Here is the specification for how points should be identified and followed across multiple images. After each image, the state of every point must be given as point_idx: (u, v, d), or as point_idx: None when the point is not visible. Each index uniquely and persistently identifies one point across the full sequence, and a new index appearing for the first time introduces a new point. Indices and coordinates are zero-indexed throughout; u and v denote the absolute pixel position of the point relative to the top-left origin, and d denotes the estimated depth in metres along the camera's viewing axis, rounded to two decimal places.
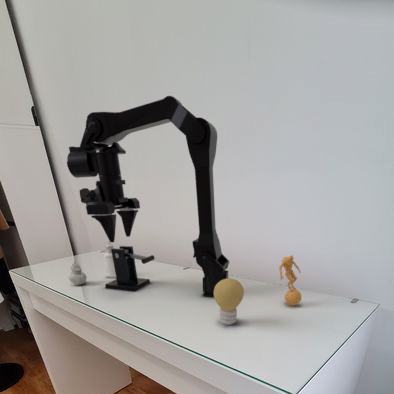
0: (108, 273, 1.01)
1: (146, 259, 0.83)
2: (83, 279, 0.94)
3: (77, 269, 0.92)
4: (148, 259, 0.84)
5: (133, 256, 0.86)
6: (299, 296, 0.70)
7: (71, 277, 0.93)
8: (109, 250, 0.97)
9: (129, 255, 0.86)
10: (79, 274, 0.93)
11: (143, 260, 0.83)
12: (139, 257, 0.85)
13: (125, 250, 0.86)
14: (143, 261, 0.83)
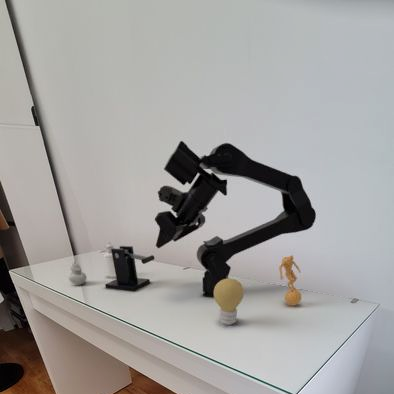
0: (108, 273, 1.01)
1: (146, 259, 0.83)
2: (83, 279, 0.94)
3: (77, 269, 0.92)
4: (148, 259, 0.84)
5: (133, 256, 0.86)
6: (299, 296, 0.70)
7: (71, 277, 0.93)
8: (109, 250, 0.97)
9: (129, 255, 0.86)
10: (79, 274, 0.93)
11: (143, 260, 0.83)
12: (139, 257, 0.85)
13: (125, 250, 0.86)
14: (143, 261, 0.83)
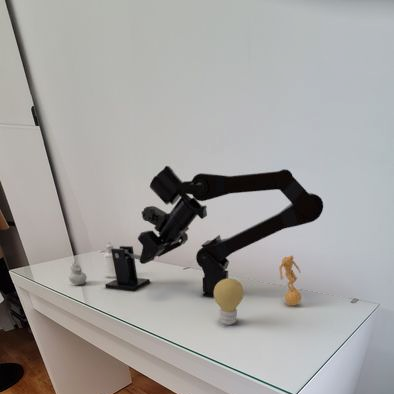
0: (108, 273, 1.01)
1: None
2: (83, 279, 0.94)
3: (77, 269, 0.92)
4: None
5: (133, 256, 0.86)
6: (299, 296, 0.70)
7: (71, 277, 0.93)
8: (109, 250, 0.97)
9: (129, 255, 0.86)
10: (79, 274, 0.93)
11: None
12: (139, 257, 0.85)
13: (125, 250, 0.86)
14: None
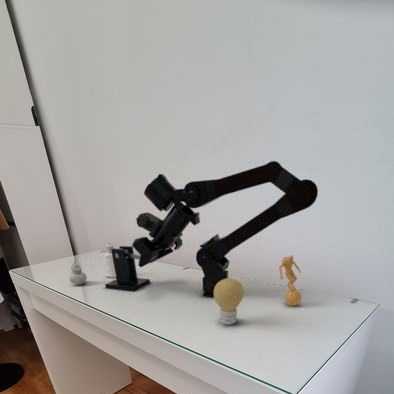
0: (108, 273, 1.01)
1: None
2: (83, 279, 0.94)
3: (77, 269, 0.92)
4: None
5: (133, 256, 0.86)
6: (299, 296, 0.70)
7: (71, 277, 0.93)
8: (109, 250, 0.97)
9: (129, 255, 0.86)
10: (79, 274, 0.93)
11: None
12: (139, 257, 0.85)
13: (125, 250, 0.86)
14: None
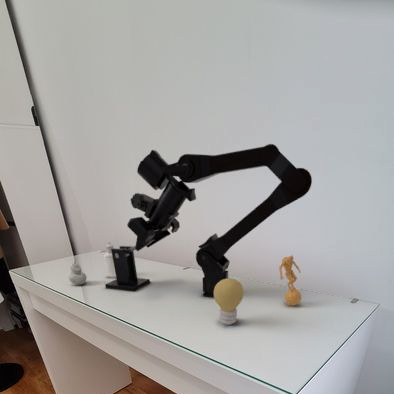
0: (108, 273, 1.01)
1: None
2: (83, 279, 0.94)
3: (77, 269, 0.92)
4: None
5: (131, 249, 0.85)
6: (299, 296, 0.70)
7: (71, 277, 0.93)
8: (109, 250, 0.97)
9: (128, 250, 0.85)
10: (79, 274, 0.93)
11: None
12: None
13: None
14: None
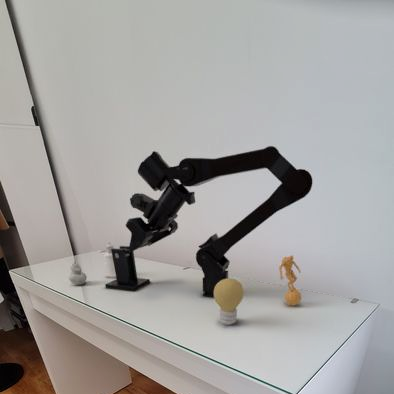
0: (108, 273, 1.01)
1: None
2: (83, 279, 0.94)
3: (77, 269, 0.92)
4: None
5: None
6: (299, 296, 0.70)
7: (71, 277, 0.93)
8: (109, 250, 0.97)
9: (128, 250, 0.86)
10: (79, 274, 0.93)
11: None
12: None
13: None
14: None
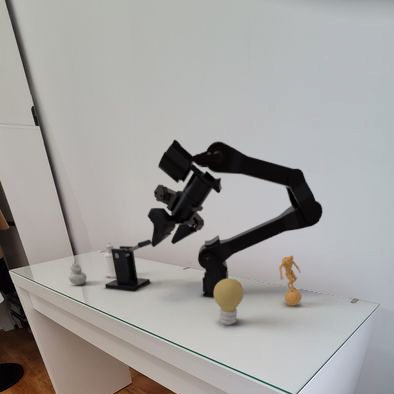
0: (108, 273, 1.01)
1: (142, 242, 0.81)
2: (83, 279, 0.94)
3: (77, 269, 0.92)
4: (144, 242, 0.82)
5: (131, 249, 0.85)
6: (299, 296, 0.70)
7: (71, 277, 0.93)
8: (109, 250, 0.97)
9: (128, 250, 0.86)
10: (79, 274, 0.93)
11: (139, 244, 0.81)
12: (136, 246, 0.84)
13: None
14: (139, 245, 0.81)
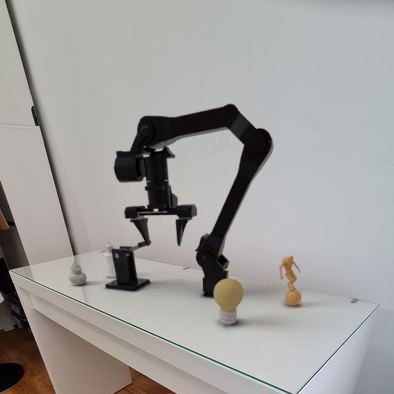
0: (108, 273, 1.01)
1: (142, 242, 0.81)
2: (83, 279, 0.94)
3: (77, 269, 0.92)
4: (144, 242, 0.82)
5: (131, 249, 0.85)
6: (299, 296, 0.70)
7: (71, 277, 0.93)
8: (109, 250, 0.97)
9: (128, 250, 0.86)
10: (79, 274, 0.93)
11: (139, 244, 0.81)
12: (136, 246, 0.84)
13: None
14: (139, 245, 0.81)
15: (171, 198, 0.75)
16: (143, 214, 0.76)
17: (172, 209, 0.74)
